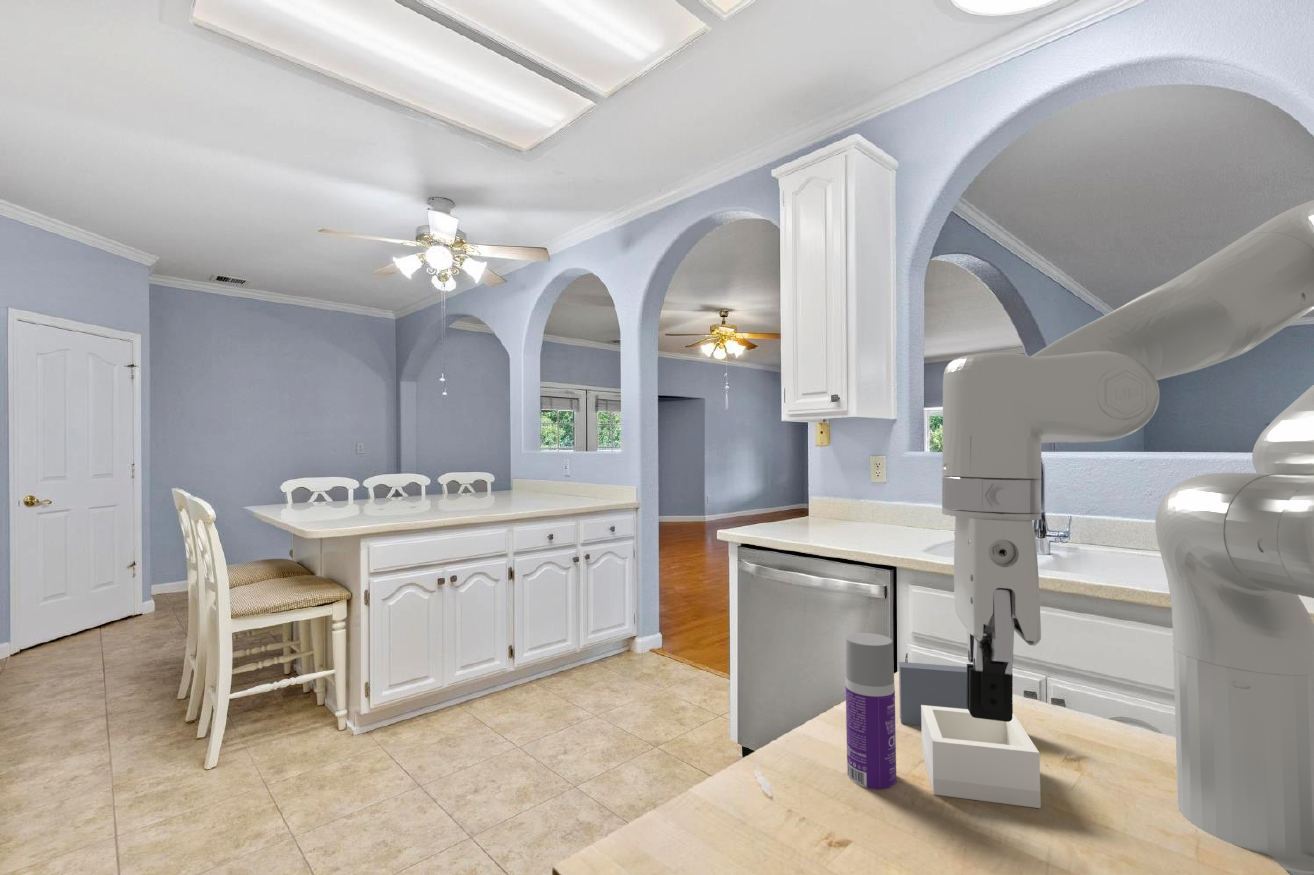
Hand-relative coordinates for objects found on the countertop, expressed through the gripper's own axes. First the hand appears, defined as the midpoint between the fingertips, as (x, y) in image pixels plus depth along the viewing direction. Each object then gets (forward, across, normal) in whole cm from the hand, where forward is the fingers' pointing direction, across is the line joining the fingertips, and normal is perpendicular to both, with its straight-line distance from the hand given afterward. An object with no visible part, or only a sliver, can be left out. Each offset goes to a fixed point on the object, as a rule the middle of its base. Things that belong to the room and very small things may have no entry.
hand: (988, 715), depth 54 cm
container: (+12, +8, +9) cm, 17 cm away
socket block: (+10, +10, -1) cm, 14 cm away
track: (+11, +14, -1) cm, 18 cm away
